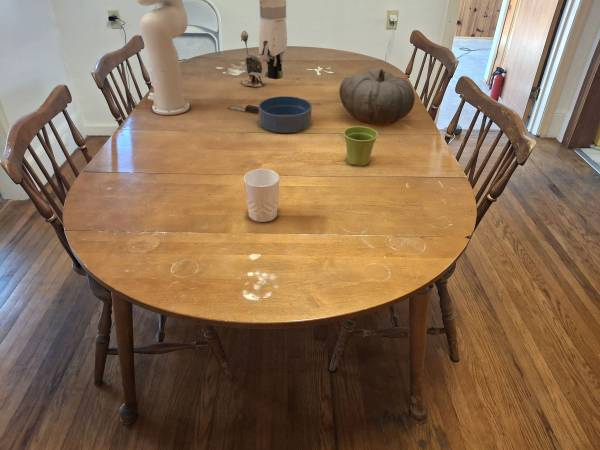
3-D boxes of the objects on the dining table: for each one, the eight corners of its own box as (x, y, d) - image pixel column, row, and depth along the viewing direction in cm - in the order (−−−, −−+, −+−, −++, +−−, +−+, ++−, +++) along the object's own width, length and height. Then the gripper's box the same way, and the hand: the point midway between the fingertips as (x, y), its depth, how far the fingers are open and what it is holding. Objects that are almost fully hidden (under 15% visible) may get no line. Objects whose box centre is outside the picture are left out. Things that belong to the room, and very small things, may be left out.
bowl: (249, 128, 148) (248, 110, 144) (273, 109, 161) (273, 93, 157) (298, 138, 142) (298, 120, 139) (319, 118, 155) (319, 101, 152)
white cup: (246, 205, 112) (244, 169, 106) (279, 204, 112) (278, 168, 106) (246, 224, 105) (243, 186, 99) (280, 223, 106) (280, 185, 100)
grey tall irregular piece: (249, 91, 176) (247, 36, 164) (238, 82, 184) (235, 29, 172) (269, 88, 179) (267, 33, 167) (257, 79, 187) (255, 26, 175)
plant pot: (352, 172, 126) (355, 143, 121) (335, 157, 132) (337, 129, 127) (381, 165, 129) (384, 136, 124) (362, 151, 136) (365, 123, 131)
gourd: (326, 119, 148) (337, 63, 140) (342, 104, 169) (353, 55, 161) (403, 138, 143) (419, 81, 135) (409, 120, 165) (423, 71, 157)
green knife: (283, 77, 142) (283, 71, 140) (280, 79, 140) (279, 73, 139) (251, 72, 145) (251, 66, 144) (248, 74, 144) (247, 68, 142)
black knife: (260, 111, 159) (260, 106, 158) (257, 113, 158) (257, 108, 157) (232, 106, 163) (232, 101, 162) (229, 108, 161) (229, 103, 160)
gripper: (273, 6, 138) (275, 68, 149) (247, 16, 126) (251, 83, 137) (296, 8, 135) (296, 71, 146) (272, 19, 124) (274, 87, 134)
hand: (275, 76), depth 141 cm, fingers closed on green knife, 1 cm apart
